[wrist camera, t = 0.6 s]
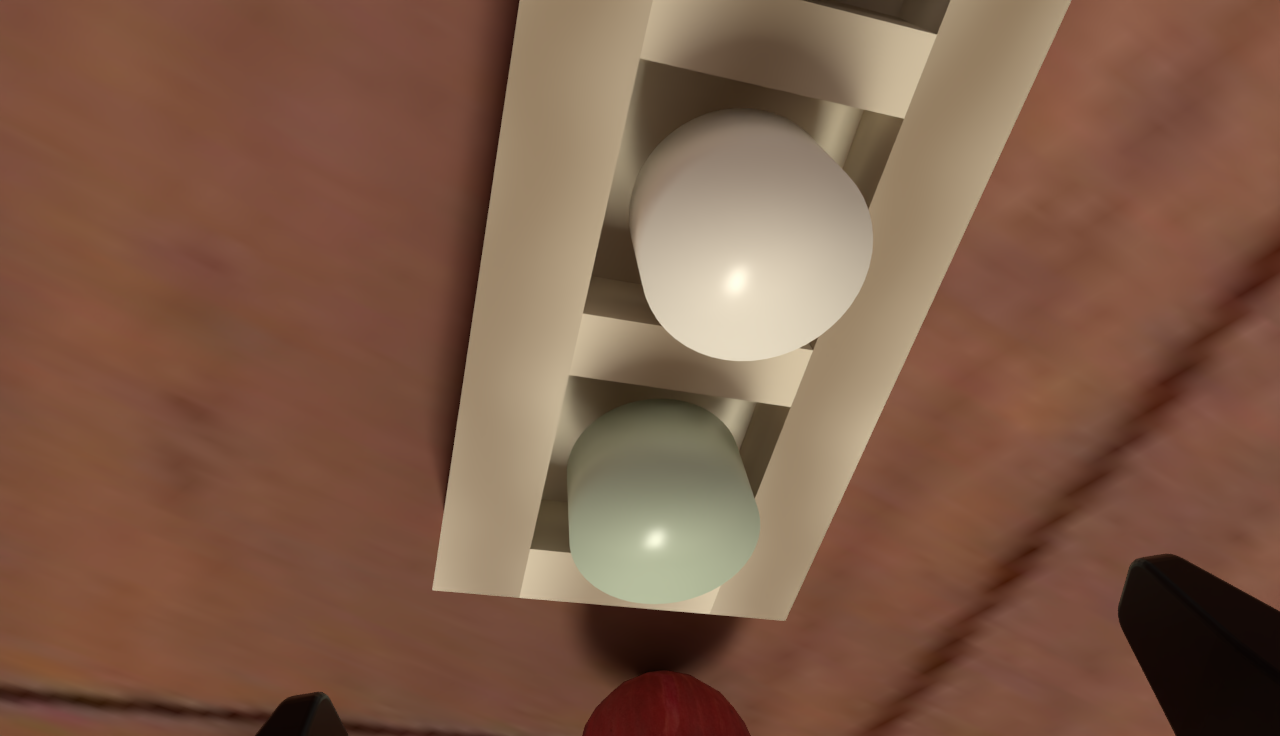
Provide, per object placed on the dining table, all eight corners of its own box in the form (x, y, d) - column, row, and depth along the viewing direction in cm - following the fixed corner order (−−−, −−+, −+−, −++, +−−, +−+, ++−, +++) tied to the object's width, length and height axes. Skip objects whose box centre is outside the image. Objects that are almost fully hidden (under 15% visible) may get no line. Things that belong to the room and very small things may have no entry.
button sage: (761, 411, 20) (786, 473, 18) (712, 543, 22) (729, 611, 20) (585, 386, 19) (590, 448, 17) (552, 526, 21) (553, 595, 19)
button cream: (865, 133, 17) (909, 170, 15) (795, 320, 19) (825, 375, 17) (657, 86, 16) (673, 119, 14) (608, 288, 18) (617, 343, 16)
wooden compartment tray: (1145, -379, 15) (1268, -427, 12) (761, 547, 26) (785, 620, 24) (607, -590, 13) (623, -701, 10) (443, 513, 24) (432, 590, 22)
